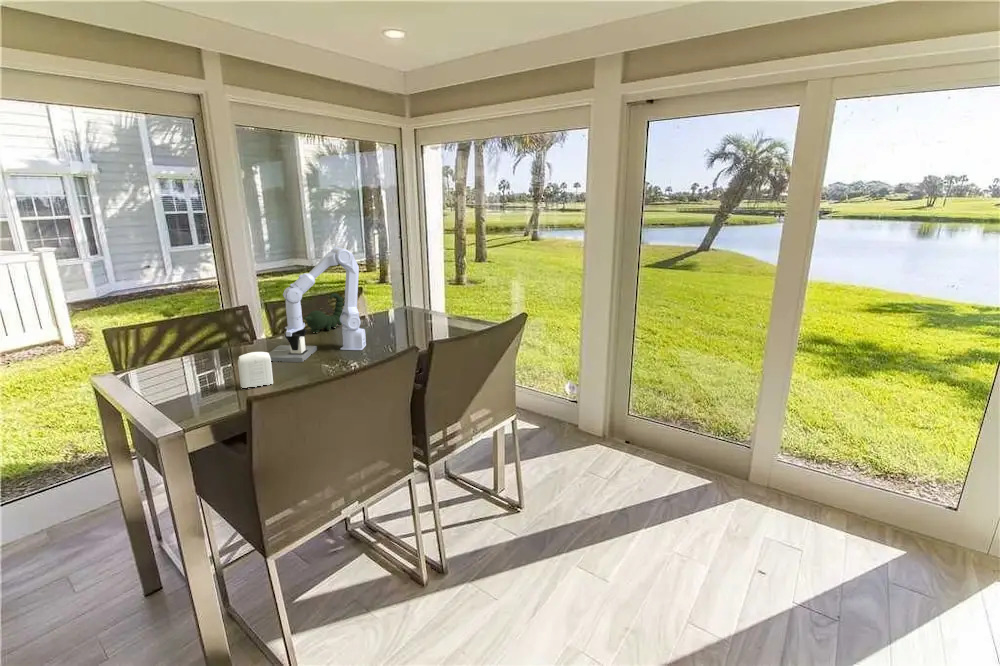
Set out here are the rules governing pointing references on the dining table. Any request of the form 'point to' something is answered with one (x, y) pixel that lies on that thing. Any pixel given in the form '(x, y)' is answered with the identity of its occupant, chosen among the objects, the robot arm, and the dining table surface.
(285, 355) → the socket plate
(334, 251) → the robot arm
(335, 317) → the toy figurine
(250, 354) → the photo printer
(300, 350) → the block
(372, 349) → the dining table surface
